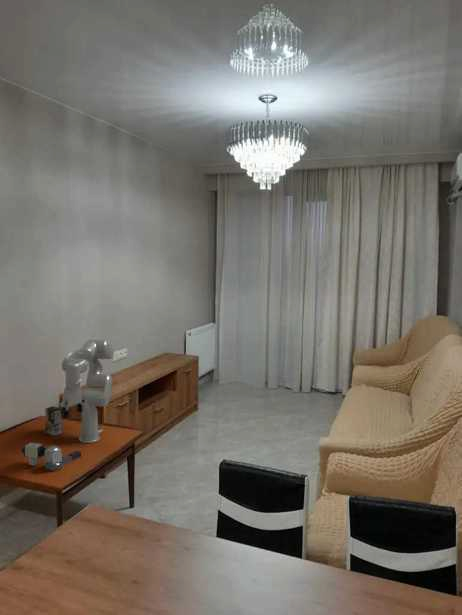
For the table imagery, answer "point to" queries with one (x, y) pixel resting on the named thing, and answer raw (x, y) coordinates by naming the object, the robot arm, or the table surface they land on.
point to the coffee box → (53, 420)
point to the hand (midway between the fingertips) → (73, 414)
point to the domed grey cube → (53, 455)
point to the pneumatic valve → (33, 452)
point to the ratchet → (63, 461)
